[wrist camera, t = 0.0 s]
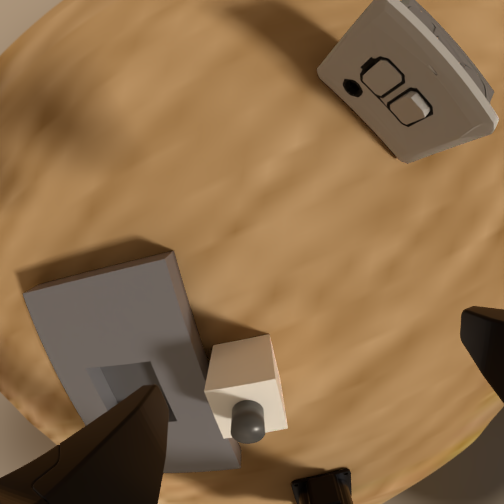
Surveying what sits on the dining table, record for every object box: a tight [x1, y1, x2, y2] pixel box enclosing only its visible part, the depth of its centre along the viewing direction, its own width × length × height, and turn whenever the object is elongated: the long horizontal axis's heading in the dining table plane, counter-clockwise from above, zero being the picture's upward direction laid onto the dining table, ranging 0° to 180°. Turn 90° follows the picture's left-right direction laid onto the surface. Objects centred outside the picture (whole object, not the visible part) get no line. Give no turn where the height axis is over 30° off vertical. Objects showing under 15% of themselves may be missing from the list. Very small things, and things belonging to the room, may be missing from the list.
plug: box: [204, 334, 288, 444], centre depth 20 cm, size 4×4×8 cm
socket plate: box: [23, 251, 241, 473], centre depth 23 cm, size 20×13×2 cm, turn 13°
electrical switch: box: [317, 0, 499, 164], centre depth 16 cm, size 9×5×9 cm, turn 47°
